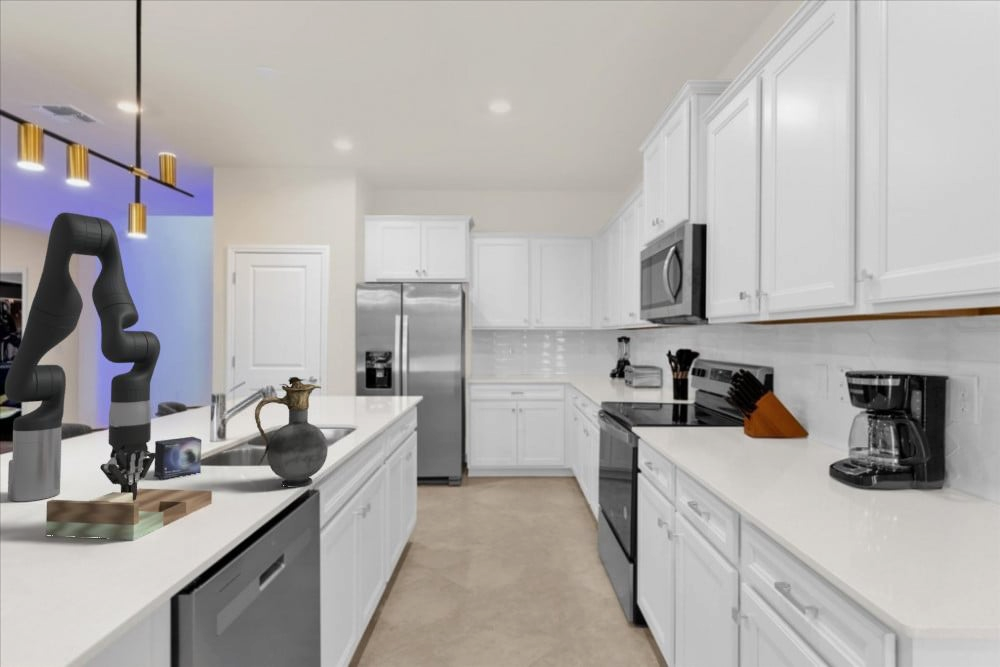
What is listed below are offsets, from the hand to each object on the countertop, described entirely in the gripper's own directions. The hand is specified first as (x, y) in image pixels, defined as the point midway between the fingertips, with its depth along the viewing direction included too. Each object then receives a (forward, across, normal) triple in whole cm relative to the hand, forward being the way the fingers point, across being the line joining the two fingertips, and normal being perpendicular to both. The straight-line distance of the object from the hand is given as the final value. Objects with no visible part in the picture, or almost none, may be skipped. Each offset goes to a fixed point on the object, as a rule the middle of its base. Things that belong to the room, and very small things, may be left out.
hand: (128, 501), depth 113 cm
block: (+2, +5, 0) cm, 5 cm away
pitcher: (+5, -32, +20) cm, 39 cm away
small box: (+5, -38, -18) cm, 42 cm away
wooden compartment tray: (+5, -2, 0) cm, 5 cm away
